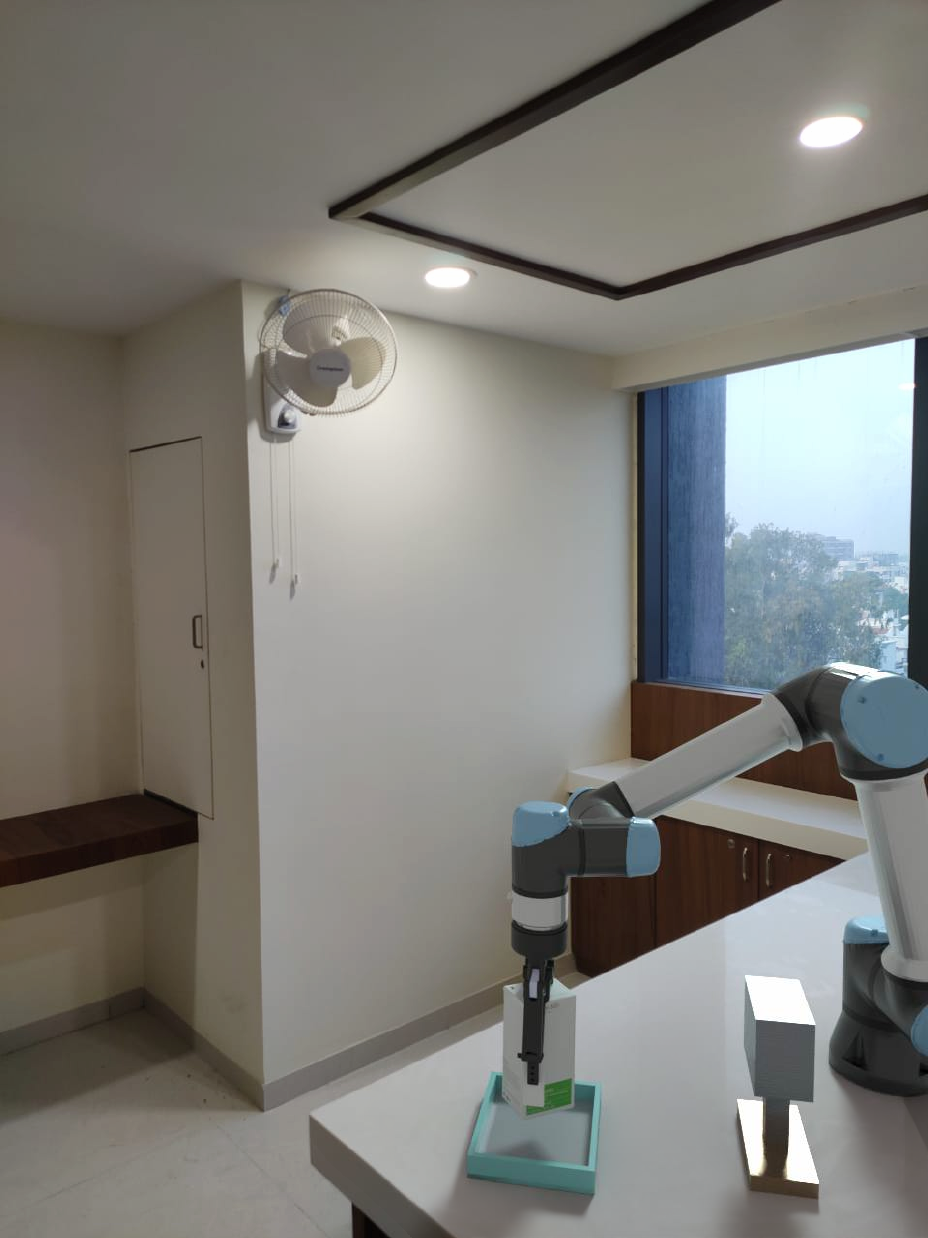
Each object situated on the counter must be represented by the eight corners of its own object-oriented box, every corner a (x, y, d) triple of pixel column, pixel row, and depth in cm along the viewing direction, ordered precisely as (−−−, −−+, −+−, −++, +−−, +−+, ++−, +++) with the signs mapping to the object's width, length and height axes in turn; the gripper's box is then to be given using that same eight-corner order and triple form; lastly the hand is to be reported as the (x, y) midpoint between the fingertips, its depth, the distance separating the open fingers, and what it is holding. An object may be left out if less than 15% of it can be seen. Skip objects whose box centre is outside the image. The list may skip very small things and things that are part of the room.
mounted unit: (796, 1119, 126) (799, 973, 124) (818, 1199, 110) (822, 1033, 109) (737, 1113, 127) (739, 968, 126) (750, 1190, 112) (753, 1027, 110)
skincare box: (521, 1123, 117) (522, 1007, 116) (499, 1095, 123) (499, 985, 122) (577, 1107, 120) (578, 994, 119) (552, 1081, 126) (553, 973, 125)
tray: (601, 1103, 129) (601, 1083, 129) (594, 1195, 111) (594, 1171, 111) (491, 1091, 133) (491, 1071, 132) (467, 1178, 114) (467, 1155, 114)
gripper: (522, 888, 131) (521, 1036, 133) (498, 953, 110) (497, 1129, 111) (573, 891, 130) (572, 1041, 131) (560, 958, 108) (558, 1137, 110)
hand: (538, 1081), depth 121 cm, fingers closed on skincare box, 10 cm apart
